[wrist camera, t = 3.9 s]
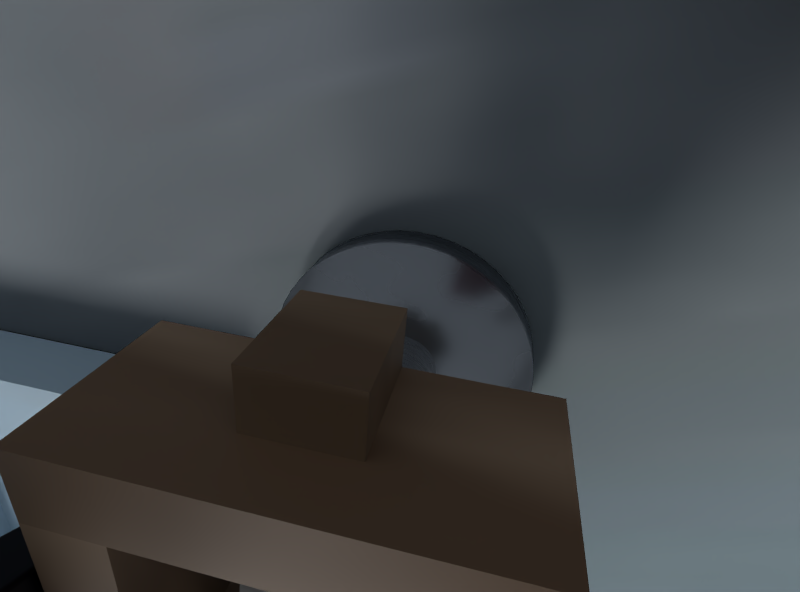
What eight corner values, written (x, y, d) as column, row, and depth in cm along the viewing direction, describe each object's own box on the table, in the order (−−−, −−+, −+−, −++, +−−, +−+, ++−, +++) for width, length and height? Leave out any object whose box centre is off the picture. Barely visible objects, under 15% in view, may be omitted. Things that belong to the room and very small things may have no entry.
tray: (253, 603, 21) (225, 659, 19) (18, 537, 23) (-29, 582, 21) (235, 379, 16) (195, 424, 14) (-66, 316, 18) (-139, 348, 16)
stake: (508, 465, 15) (495, 788, 8) (292, 418, 16) (132, 673, 10) (558, 253, 12) (600, 500, 5) (288, 212, 13) (49, 377, 6)
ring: (493, 656, 10) (482, 869, 7) (199, 574, 11) (98, 737, 8) (582, 339, 7) (620, 522, 4) (153, 263, 8) (-38, 372, 5)
